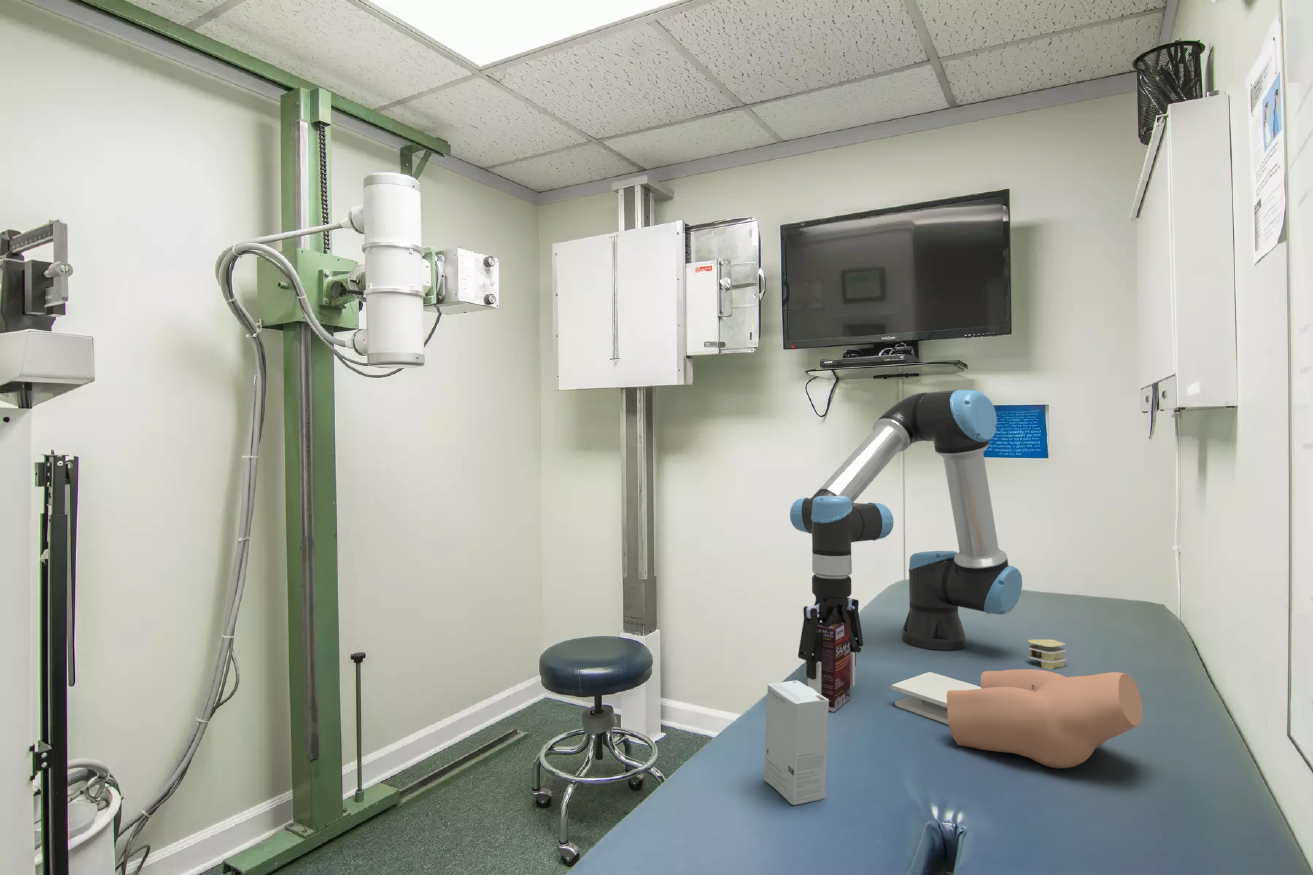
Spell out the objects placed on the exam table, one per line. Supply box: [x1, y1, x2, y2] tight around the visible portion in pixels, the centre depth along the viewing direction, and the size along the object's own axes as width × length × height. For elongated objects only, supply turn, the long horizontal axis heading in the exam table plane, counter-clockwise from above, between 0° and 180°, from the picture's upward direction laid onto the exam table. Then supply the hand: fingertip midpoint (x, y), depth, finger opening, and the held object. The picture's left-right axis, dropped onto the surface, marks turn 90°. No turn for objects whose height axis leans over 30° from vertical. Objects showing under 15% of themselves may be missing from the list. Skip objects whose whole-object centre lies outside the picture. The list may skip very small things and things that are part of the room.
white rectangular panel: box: [890, 671, 981, 726], centre depth 133 cm, size 13×13×4 cm
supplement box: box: [816, 621, 851, 713], centre depth 136 cm, size 9×5×16 cm, turn 144°
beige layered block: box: [1027, 639, 1067, 670], centre depth 159 cm, size 10×9×6 cm
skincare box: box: [763, 680, 829, 806], centre depth 102 cm, size 8×6×15 cm
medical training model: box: [947, 668, 1144, 769], centre depth 114 cm, size 21×25×13 cm
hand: (831, 689), depth 136 cm, fingers closed on supplement box, 9 cm apart
